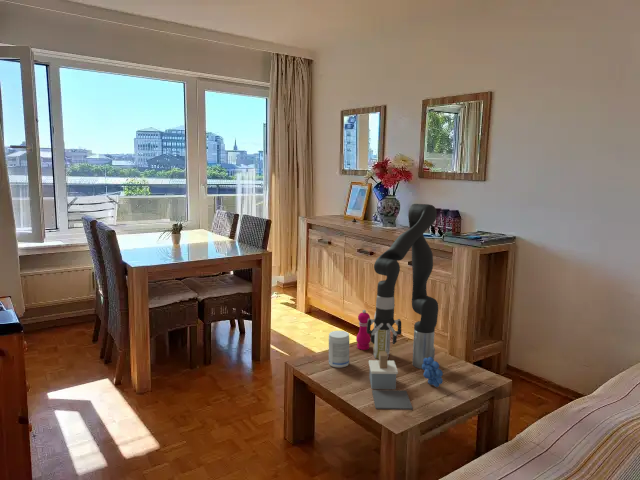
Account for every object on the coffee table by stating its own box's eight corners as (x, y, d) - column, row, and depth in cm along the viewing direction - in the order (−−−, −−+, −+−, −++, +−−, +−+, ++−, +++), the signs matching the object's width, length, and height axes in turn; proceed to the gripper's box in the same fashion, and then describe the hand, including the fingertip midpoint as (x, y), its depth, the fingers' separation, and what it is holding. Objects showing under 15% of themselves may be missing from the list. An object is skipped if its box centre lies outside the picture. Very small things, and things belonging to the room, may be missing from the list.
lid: (393, 362, 204) (394, 348, 203) (397, 374, 193) (398, 359, 192) (368, 362, 204) (369, 348, 203) (371, 373, 193) (371, 358, 192)
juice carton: (373, 351, 233) (374, 305, 229) (389, 352, 232) (391, 306, 228) (372, 359, 224) (374, 311, 220) (389, 360, 223) (391, 311, 219)
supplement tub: (353, 364, 218) (353, 334, 216) (339, 370, 212) (339, 339, 209) (338, 358, 225) (338, 328, 223) (324, 363, 219) (324, 333, 216)
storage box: (392, 378, 204) (392, 363, 203) (395, 389, 195) (396, 373, 193) (369, 378, 205) (369, 362, 203) (371, 388, 195) (372, 373, 194)
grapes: (414, 381, 202) (415, 355, 200) (425, 378, 205) (427, 352, 203) (433, 393, 192) (435, 365, 190) (445, 389, 195) (447, 362, 193)
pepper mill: (371, 346, 240) (372, 308, 237) (368, 351, 234) (369, 312, 230) (358, 344, 243) (359, 306, 239) (354, 349, 236) (355, 311, 233)
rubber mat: (406, 391, 193) (406, 390, 192) (412, 409, 179) (412, 408, 179) (372, 391, 193) (372, 389, 193) (375, 408, 179) (375, 407, 179)
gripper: (400, 303, 198) (399, 340, 200) (367, 302, 198) (365, 339, 200) (403, 309, 190) (401, 347, 193) (368, 308, 190) (367, 346, 193)
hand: (383, 343), depth 197 cm, fingers open, 8 cm apart
